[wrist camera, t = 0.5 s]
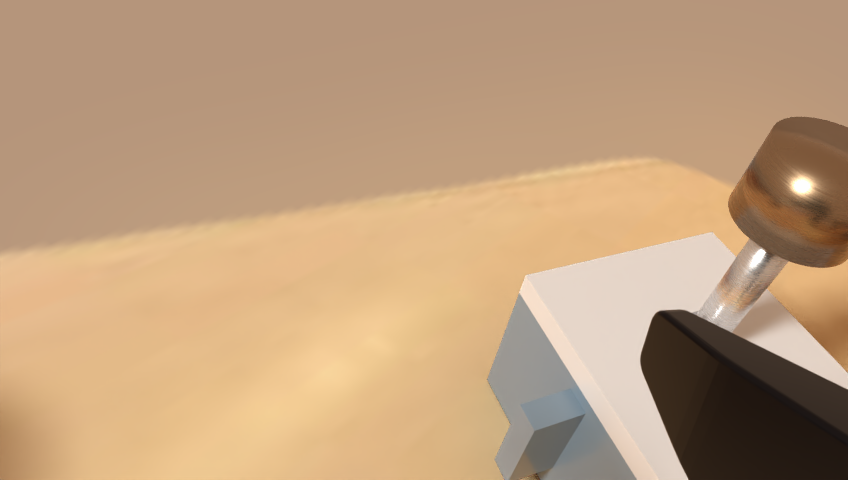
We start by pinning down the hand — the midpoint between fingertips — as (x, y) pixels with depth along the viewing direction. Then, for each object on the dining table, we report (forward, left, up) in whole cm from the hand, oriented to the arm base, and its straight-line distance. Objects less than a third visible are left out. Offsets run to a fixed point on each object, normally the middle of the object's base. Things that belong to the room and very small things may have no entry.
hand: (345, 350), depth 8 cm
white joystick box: (+3, -14, -17) cm, 22 cm away
